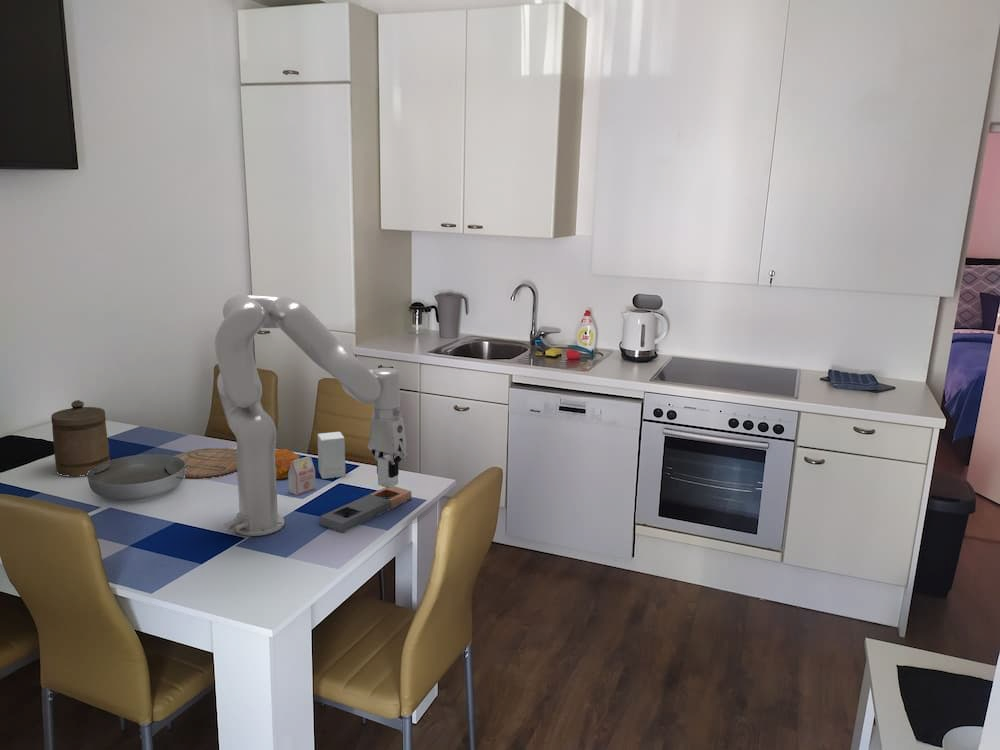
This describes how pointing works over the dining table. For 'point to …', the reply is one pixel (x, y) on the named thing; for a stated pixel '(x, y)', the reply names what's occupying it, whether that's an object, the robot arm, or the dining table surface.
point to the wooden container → (79, 439)
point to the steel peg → (385, 472)
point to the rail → (364, 508)
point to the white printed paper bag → (301, 476)
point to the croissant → (283, 462)
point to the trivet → (209, 462)
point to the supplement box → (331, 455)
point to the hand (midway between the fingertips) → (387, 473)
